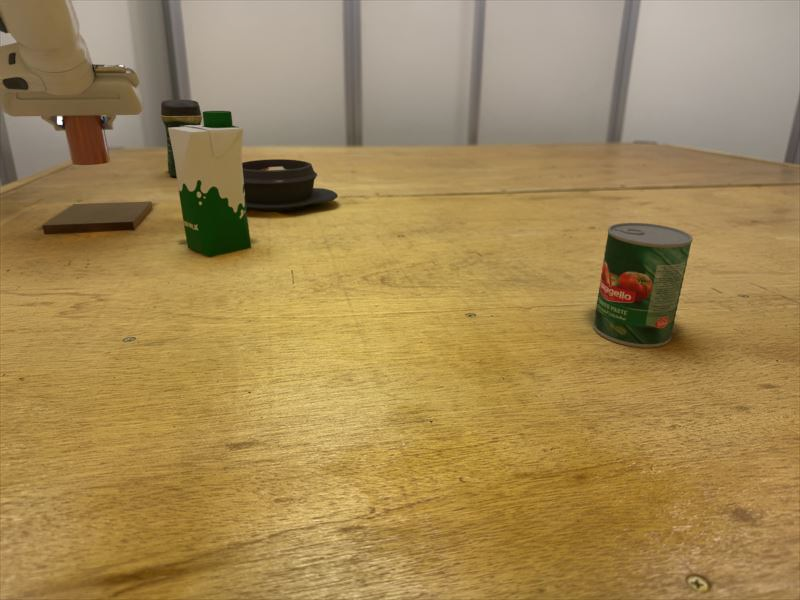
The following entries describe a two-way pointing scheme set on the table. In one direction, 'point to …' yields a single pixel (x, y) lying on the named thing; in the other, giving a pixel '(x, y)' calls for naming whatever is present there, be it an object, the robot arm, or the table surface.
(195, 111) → the coffee jar
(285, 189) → the casserole
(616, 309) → the canned tomato
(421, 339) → the table surface
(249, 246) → the milk carton
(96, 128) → the honey jar
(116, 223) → the board
